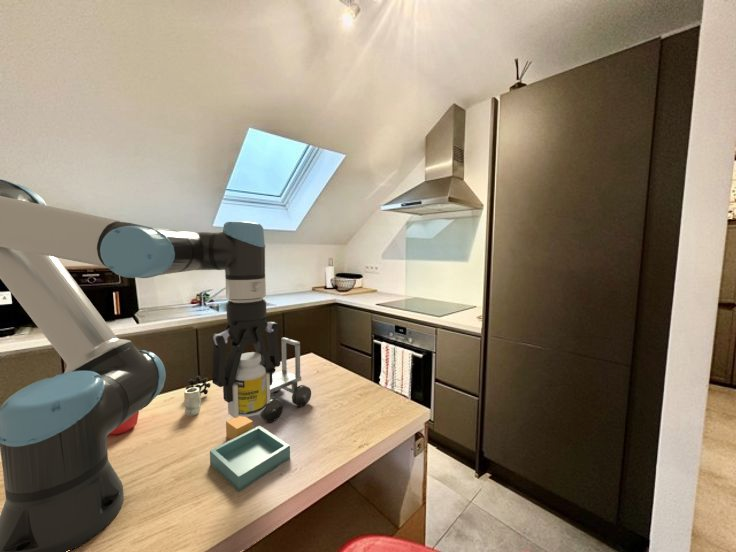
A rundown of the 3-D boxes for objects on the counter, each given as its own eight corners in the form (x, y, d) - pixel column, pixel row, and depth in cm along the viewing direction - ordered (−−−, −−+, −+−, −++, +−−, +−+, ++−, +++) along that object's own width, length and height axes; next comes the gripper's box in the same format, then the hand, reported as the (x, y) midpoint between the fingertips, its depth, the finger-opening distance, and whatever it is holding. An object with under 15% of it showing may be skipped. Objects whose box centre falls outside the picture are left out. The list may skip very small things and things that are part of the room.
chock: (237, 445, 70) (236, 428, 70) (226, 436, 73) (225, 421, 73) (253, 437, 73) (252, 421, 73) (242, 429, 76) (241, 414, 76)
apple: (132, 417, 81) (130, 388, 80) (147, 426, 77) (145, 396, 76) (94, 432, 74) (91, 401, 73) (107, 443, 70) (105, 410, 69)
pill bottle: (226, 415, 61) (224, 359, 60) (247, 400, 68) (245, 349, 67) (253, 420, 60) (251, 363, 59) (272, 404, 66) (271, 352, 65)
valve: (205, 414, 83) (211, 394, 94) (204, 391, 82) (210, 374, 93) (177, 419, 80) (186, 398, 92) (176, 395, 80) (185, 377, 91)
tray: (239, 491, 57) (238, 476, 56) (210, 464, 64) (209, 450, 63) (290, 458, 66) (289, 445, 65) (259, 437, 73) (259, 425, 73)
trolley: (264, 426, 77) (263, 358, 76) (234, 406, 87) (232, 346, 85) (311, 402, 90) (310, 343, 88) (280, 387, 99) (279, 334, 97)
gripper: (205, 308, 52) (210, 437, 54) (296, 295, 67) (298, 395, 69) (186, 303, 56) (192, 422, 58) (276, 292, 71) (278, 386, 74)
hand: (249, 407), depth 64 cm, fingers closed on pill bottle, 6 cm apart
